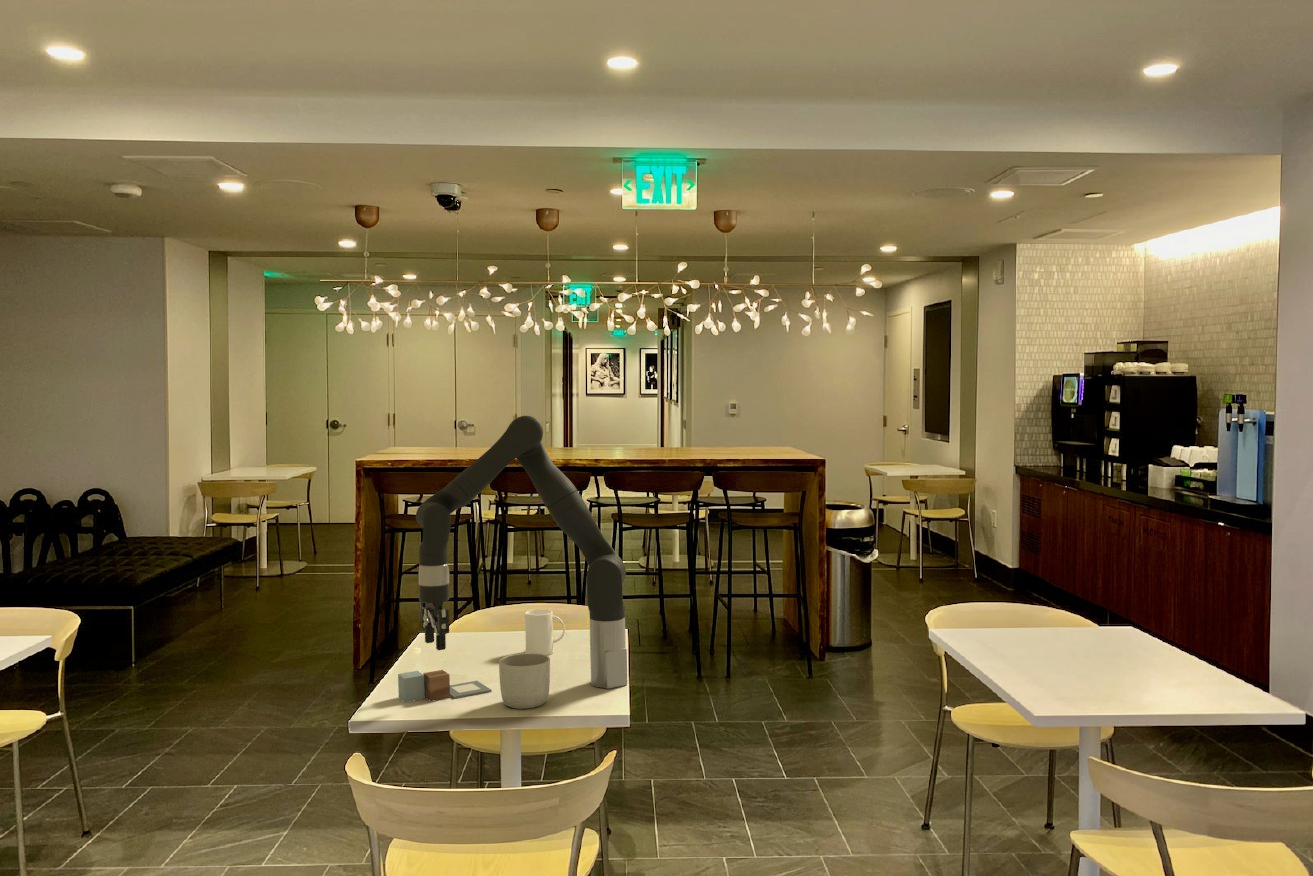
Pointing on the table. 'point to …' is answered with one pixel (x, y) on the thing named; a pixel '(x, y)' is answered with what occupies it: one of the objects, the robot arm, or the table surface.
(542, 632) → the mug
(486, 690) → the pad
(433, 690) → the walnut block
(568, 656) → the table surface
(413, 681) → the blue grey block
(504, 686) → the planter
